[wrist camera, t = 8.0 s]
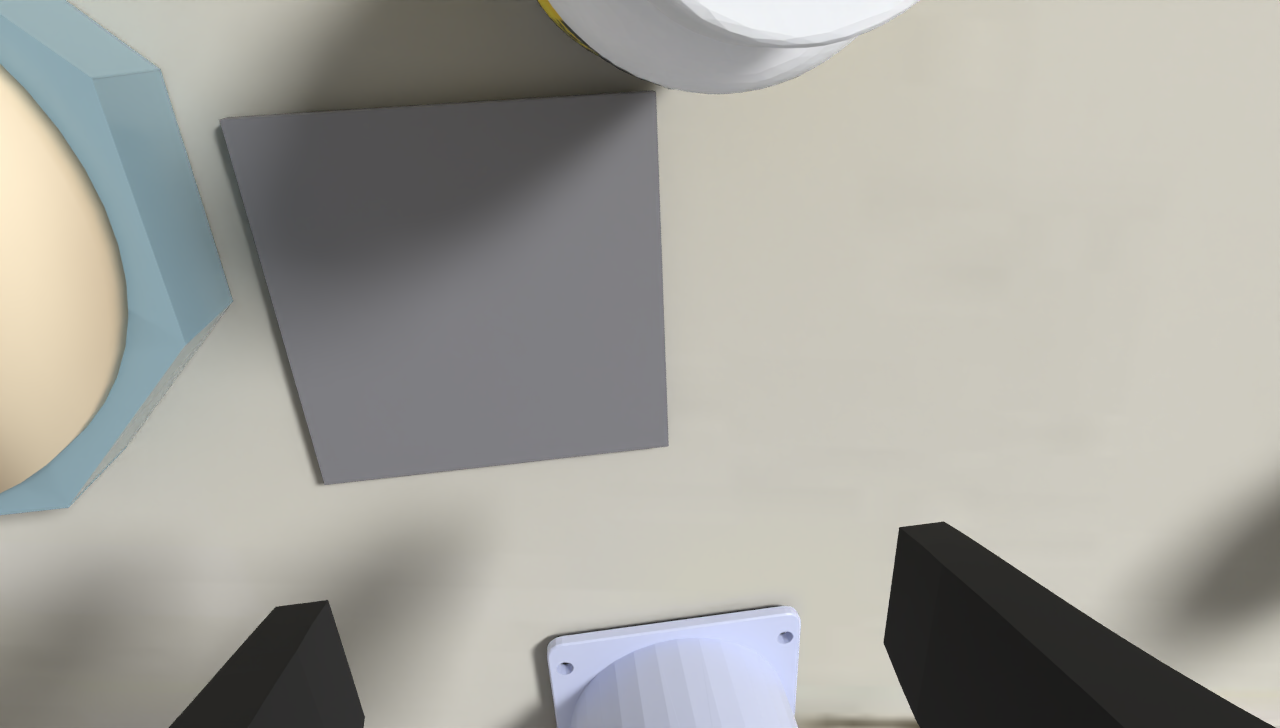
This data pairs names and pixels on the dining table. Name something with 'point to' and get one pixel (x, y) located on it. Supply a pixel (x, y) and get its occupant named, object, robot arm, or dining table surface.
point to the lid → (51, 291)
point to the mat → (464, 278)
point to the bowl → (119, 221)
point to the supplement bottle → (718, 37)
